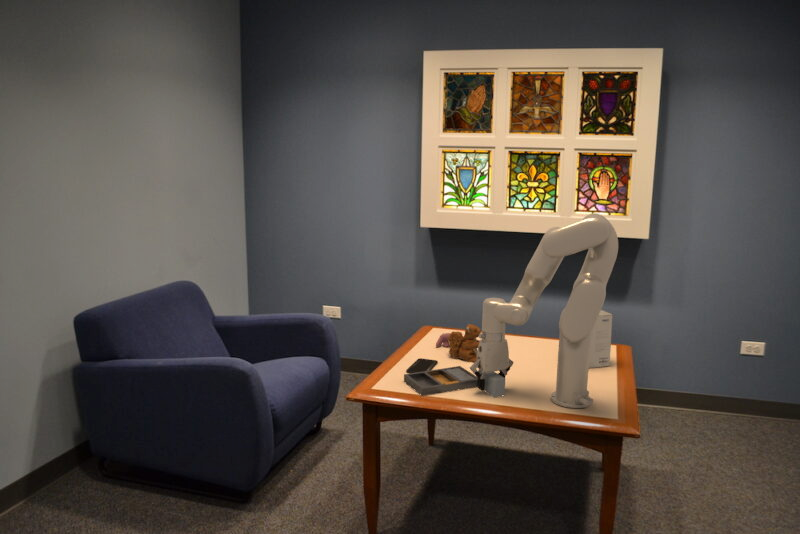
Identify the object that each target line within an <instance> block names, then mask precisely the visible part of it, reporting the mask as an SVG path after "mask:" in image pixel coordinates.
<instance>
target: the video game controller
mask: <svg viewBox="0 0 800 534" xmlns="http://www.w3.org/2000/svg"><path fill="white" fill-rule="evenodd" d="M451 333H452V332H447V333H444V332H443V333H442V334H440V335H439V337H438V339H437V341H436V342H435V343H436V344H435V347H436V348H440V347H441V345H443V347H445V348H448V347H450V346H449V345H450V344H449V341H448V338H449V334H451Z"/></svg>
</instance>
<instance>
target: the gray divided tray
mask: <svg viewBox="0 0 800 534" xmlns="http://www.w3.org/2000/svg"><path fill="white" fill-rule="evenodd" d="M477 381H478V377H477V376H476V375H475V374H474V373H473V372H470V371H469V370H467V369H465V368H464V367H462V366H461V365H458V366H452V367H451V366H450V367H444V368H438V369H432V370H430V371H423V372H417V373H404V374H403V382H404V383H405V382H406V383H405V384H407V385H408V386H409V387H410V386H411V387H410V388H411V389H412V390H414V389H415V390H416V391H415V390H414V391H415V392H416V393H418V394H419V395H420V394H421V395H420V396H422V397H424V396H423V395H425V396H429V395H435V394H436V393H437V394H441V393H442V392H443V393H447V391H449V392H454V391H453V390H455V391H459V390H458V389H460V390H466V389H473V388H478V386H477ZM465 388H466V389H465Z"/></svg>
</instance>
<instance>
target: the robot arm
mask: <svg viewBox="0 0 800 534" xmlns="http://www.w3.org/2000/svg"><path fill="white" fill-rule="evenodd" d="M586 250H588V251H587V253H586V256H585V258H584V262H583V264H582V266H581V269H580V272H579V273H578V276H577V278H576V280H574V283H573V285H572V286H573V287H572V290H571V293H570V295H569V298H568V301H567V303H566V305H565V307H564V308H562V309H563V310H561V314H560V316H559V323H558V329H559V338H558V352H557V365H556V366H557V367H556V368H557V369H556V382H555V391H553V392H551V393H550V400H551V402H552V403H554V404H556V406H557V405H558V406H561V407H564V408H569V409H583V408H587V407H590V406H591V405H592V404H593V402H594V398H592V397H591V396H590V391H588V384H589V382H588V381H589V370H590V368H589V356H590V343H591V332H592V329H593V327H594V325H595V323H596V320H597V318H598V316H599V313H600V311H601V310H602V308H603V306H604V303H605V300H606V296H607V291H606V290H607V284H608V282H609V279H610V277H611V275H612V271H613V270H614V269H613V268H614V265H615V263H616V260H617V256H618V252H619V239H618V234H617V230H615V228H614V226H613V224H612V223H611V222H610V220H608V219H607V218H606V217H605V216H604V215H602V214H600V213H595V212H594V213H593V212H592V213H590V214H587V215H586V216H584V217H583V218H582V220H579V221H577V222H575V223H574V222H573V223H571V224H568V225H566V226H563V227H559V226H554V227H551V228H549V229H547V231H546V232H545V233H544V234H543V236H542V238H541V240H540V242H539V244H538V246H537V247H536V250H535V251H534V253H533V255H532V257H531V259H530V261H529V262H528V264H527V266H526V268H525V270H524V274H523V277H522V279H521V281H520V282H519V285H518V287H517V289H516V291H515V293H514V294H513V296H512V298H511V300H510V301H509V302H506V301H505V299H503V298H501V297H500V298H499V297H488V298H485V299H484V300H483V302H482V315H481V316H482V320H481V321H482V322H481V334H479V337H478V338H479V340H480V342H479V346H478V348H477V350H478V352H477V361H476V362H475V363H473V364H472V365H470V367H469V369H470V371H471V373H472V374H473V375H475V376H477V377H478V381H477V386H478V387H477V389H479V390H480V391H481V392H485V391H484V390H485V379H483V378H484V376H485V374H486V372H498V373H497V374H499V375H501V376H502V377H504V378H505V379H506V376H507V375H508V373H509V371H510V370H511V367H513V365H514V361H513V360H511V358H510V350H509V344H508V340H507V339H506V324H507V325H512V326H518V327H519V326H522V325H524V324H526V323H527V322H528V320H529V319H530V316H531V313H532V311H533V309H534V307H535V305H536V304H537V302H538V300H539V298H540V296H541V295H542V293H543V291H544V290H545V288H546V287H547V286H548V285H549V284H550V283H551V281H552V279H553V278H554V277H555V276H554V275H555V274H556V272H557V270H558V269H559V267H560V265H561V263H562V261H563V260H564V258H565V257H567V256H570V255H574V254H576V253H577V254H578V253H580V252H582V251H586ZM477 369H478V370H477ZM481 372H482V373H481Z"/></svg>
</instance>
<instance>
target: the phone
mask: <svg viewBox="0 0 800 534" xmlns="http://www.w3.org/2000/svg"><path fill="white" fill-rule="evenodd" d="M437 365H438V360H435V359H428V358H417V359H416V360H415V361H414V362H413V363H412V364H411V365H410V366H409V367H408V368H406V370H405V371H406V372H405V374H410V373H417V372H423V371H430V370H434V368H435V367H436V366H437Z"/></svg>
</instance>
